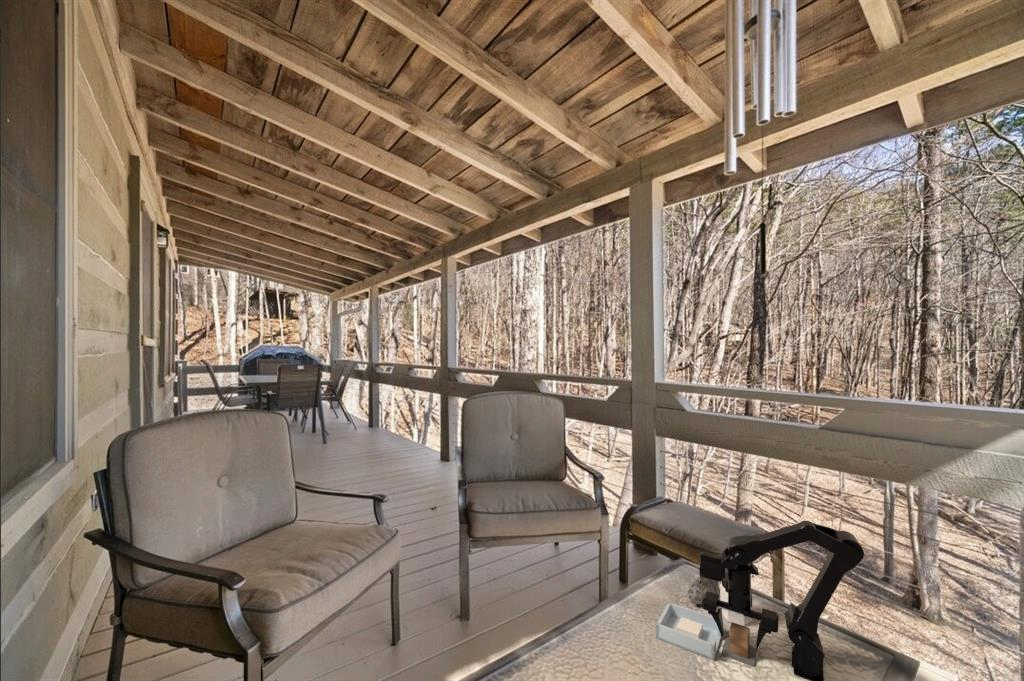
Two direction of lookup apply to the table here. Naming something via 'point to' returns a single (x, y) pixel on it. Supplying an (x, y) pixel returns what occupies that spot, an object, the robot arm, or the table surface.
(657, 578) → the table surface
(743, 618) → the jar
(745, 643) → the walnut block
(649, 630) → the table surface
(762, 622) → the robot arm
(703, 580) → the mineral rock
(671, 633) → the access box
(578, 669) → the table surface
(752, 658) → the rubber mat
